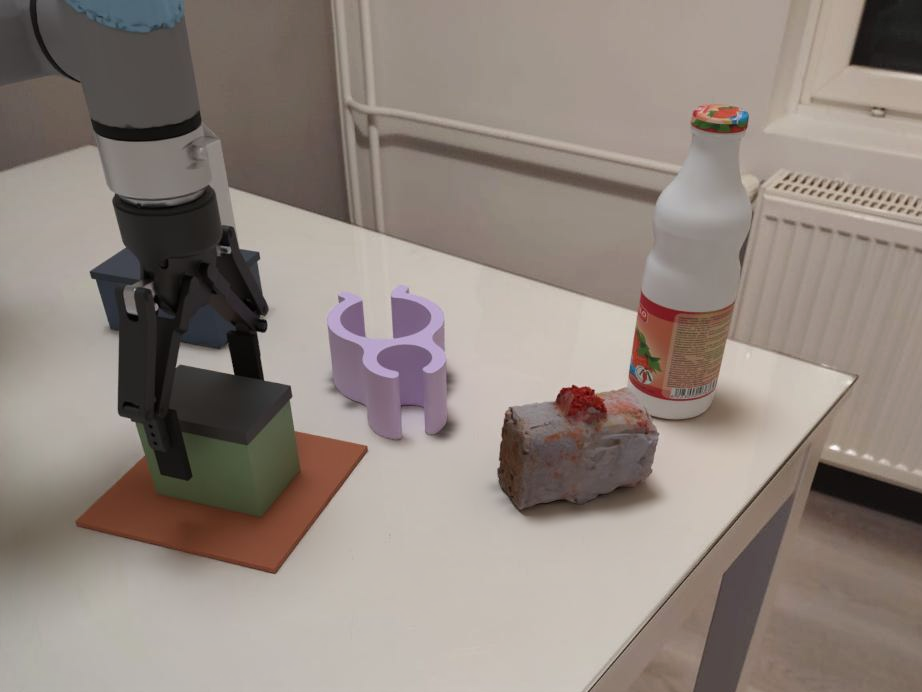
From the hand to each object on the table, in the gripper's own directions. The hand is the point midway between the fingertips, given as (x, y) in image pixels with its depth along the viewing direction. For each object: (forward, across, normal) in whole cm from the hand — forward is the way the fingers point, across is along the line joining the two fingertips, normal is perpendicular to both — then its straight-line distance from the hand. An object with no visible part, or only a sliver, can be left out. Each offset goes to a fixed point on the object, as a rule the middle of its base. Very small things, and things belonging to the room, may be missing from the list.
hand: (217, 434), depth 82 cm
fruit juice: (+5, +30, -37) cm, 48 cm away
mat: (+5, 0, 0) cm, 6 cm away
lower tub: (+6, +29, +22) cm, 37 cm away
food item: (+5, +11, -31) cm, 34 cm away
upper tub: (+5, 0, 0) cm, 5 cm away
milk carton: (+6, +43, +28) cm, 51 cm away
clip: (+6, +22, -8) cm, 24 cm away
